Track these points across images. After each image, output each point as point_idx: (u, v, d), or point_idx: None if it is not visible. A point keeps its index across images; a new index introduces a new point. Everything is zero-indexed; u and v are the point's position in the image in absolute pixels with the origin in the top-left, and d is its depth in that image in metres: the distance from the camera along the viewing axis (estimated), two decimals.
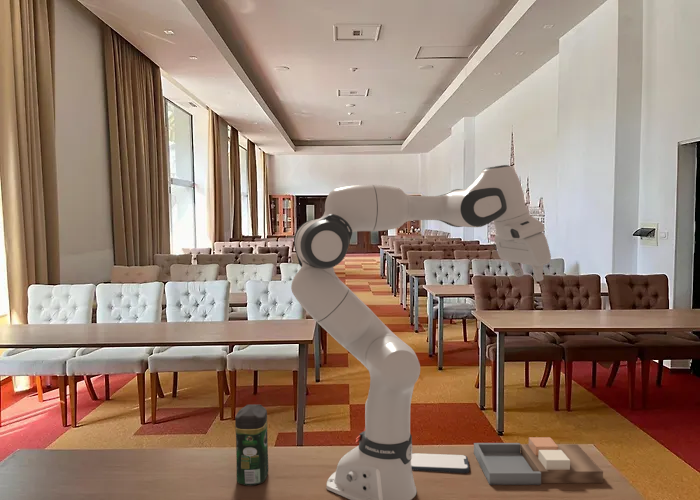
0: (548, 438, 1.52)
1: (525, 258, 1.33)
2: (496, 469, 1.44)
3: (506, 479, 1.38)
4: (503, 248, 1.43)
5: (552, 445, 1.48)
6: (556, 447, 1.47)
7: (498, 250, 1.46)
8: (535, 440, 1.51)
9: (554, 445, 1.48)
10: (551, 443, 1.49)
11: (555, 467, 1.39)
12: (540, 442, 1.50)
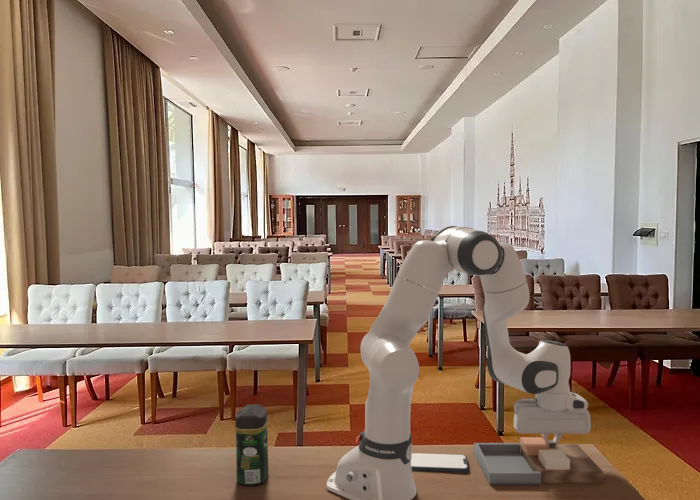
0: (539, 438, 1.52)
1: (570, 427, 1.48)
2: (496, 469, 1.44)
3: (506, 479, 1.38)
4: (533, 420, 1.48)
5: (543, 445, 1.48)
6: (547, 447, 1.47)
7: (521, 423, 1.48)
8: (527, 440, 1.51)
9: (545, 445, 1.48)
10: (542, 443, 1.49)
11: (555, 467, 1.39)
12: (531, 442, 1.50)
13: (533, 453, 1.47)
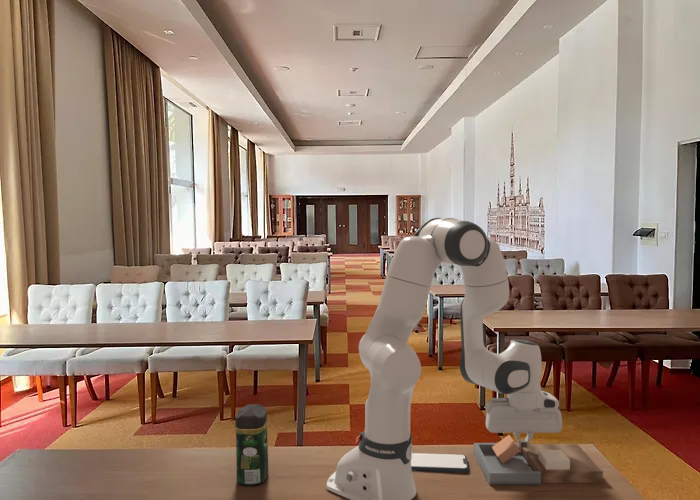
0: (507, 437, 1.52)
1: (542, 426, 1.48)
2: (496, 469, 1.44)
3: (506, 479, 1.38)
4: (504, 420, 1.48)
5: (510, 445, 1.48)
6: (514, 445, 1.47)
7: (493, 422, 1.48)
8: (497, 448, 1.51)
9: (512, 444, 1.48)
10: (509, 443, 1.49)
11: (555, 467, 1.39)
12: (501, 448, 1.50)
13: (506, 458, 1.48)
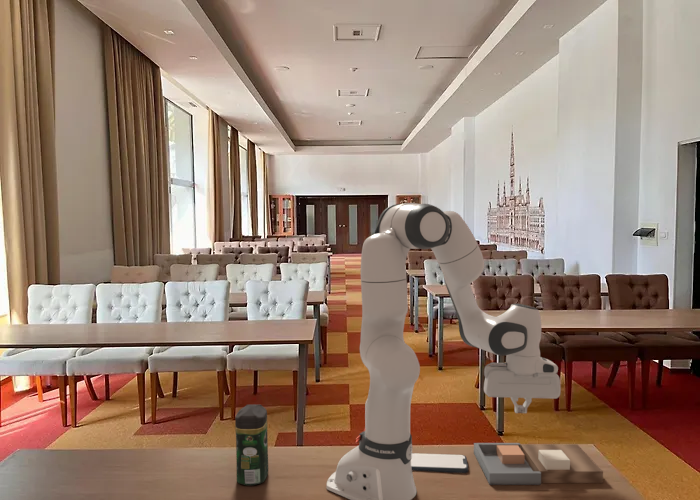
0: (516, 446, 1.53)
1: (540, 392, 1.47)
2: (496, 469, 1.44)
3: (506, 479, 1.38)
4: (503, 384, 1.47)
5: (518, 453, 1.48)
6: (522, 455, 1.48)
7: (491, 387, 1.47)
8: (503, 449, 1.51)
9: (521, 453, 1.48)
10: (518, 451, 1.49)
11: (555, 467, 1.39)
12: (507, 450, 1.50)
13: (508, 461, 1.48)
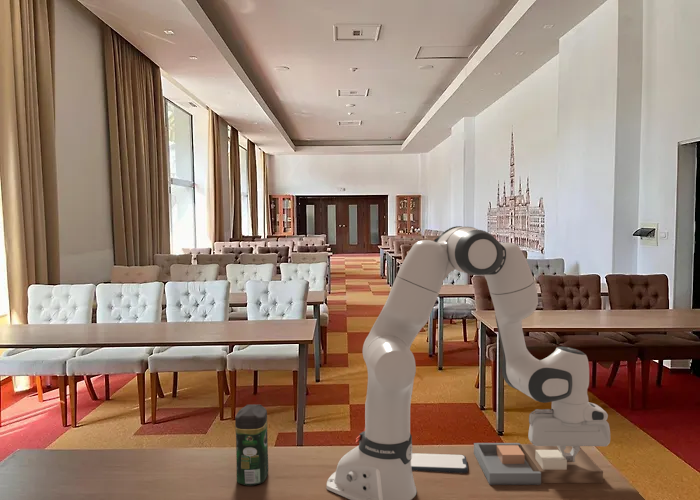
0: (516, 446, 1.53)
1: (589, 440, 1.40)
2: (496, 469, 1.44)
3: (506, 479, 1.38)
4: (549, 432, 1.40)
5: (518, 453, 1.48)
6: (522, 455, 1.48)
7: (537, 435, 1.40)
8: (503, 449, 1.51)
9: (521, 453, 1.48)
10: (518, 451, 1.49)
11: (552, 467, 1.39)
12: (507, 450, 1.50)
13: (508, 461, 1.48)
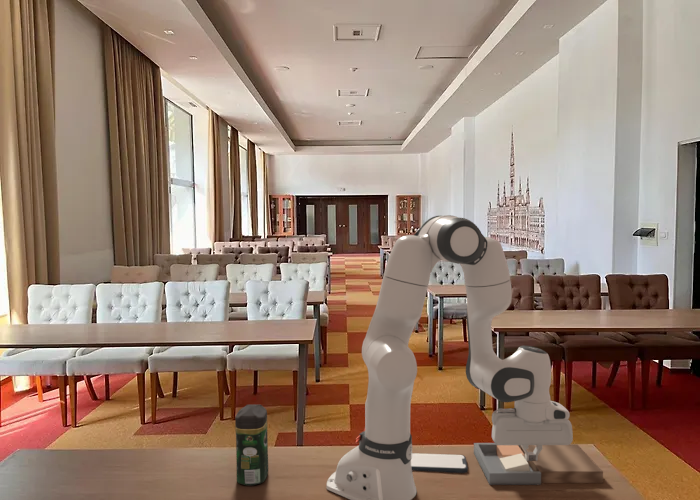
0: (516, 446, 1.53)
1: (551, 439, 1.40)
2: (496, 469, 1.44)
3: (506, 479, 1.38)
4: (512, 431, 1.40)
5: (518, 453, 1.48)
6: None
7: (499, 434, 1.40)
8: (503, 449, 1.51)
9: None
10: (518, 451, 1.49)
11: None
12: (507, 450, 1.50)
13: None
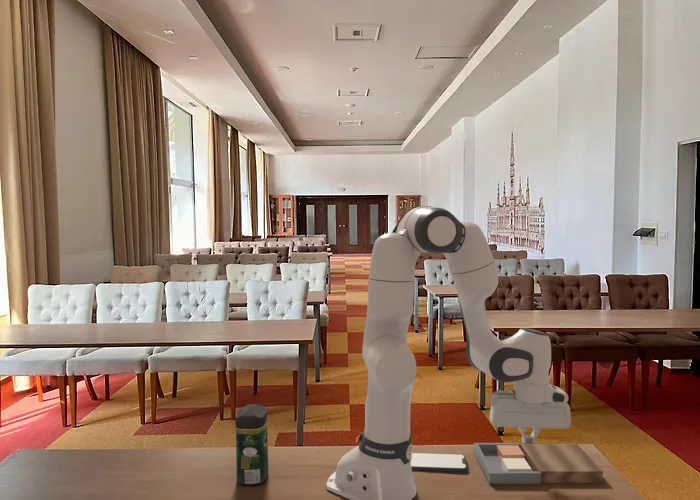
0: (516, 446, 1.53)
1: (549, 422, 1.40)
2: (496, 469, 1.44)
3: (506, 479, 1.38)
4: (510, 413, 1.39)
5: (518, 453, 1.48)
6: (522, 455, 1.48)
7: (498, 416, 1.40)
8: (503, 449, 1.51)
9: (521, 453, 1.48)
10: (518, 451, 1.49)
11: None
12: (507, 450, 1.50)
13: None
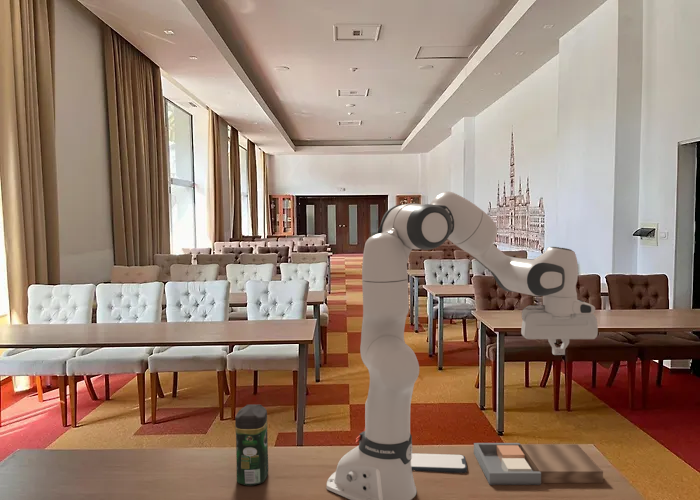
0: (516, 446, 1.53)
1: (578, 333, 1.49)
2: (496, 469, 1.44)
3: (506, 479, 1.38)
4: (541, 326, 1.49)
5: (518, 453, 1.48)
6: (522, 455, 1.48)
7: (529, 329, 1.49)
8: (503, 449, 1.51)
9: (521, 453, 1.48)
10: (518, 451, 1.49)
11: None
12: (507, 450, 1.50)
13: None
